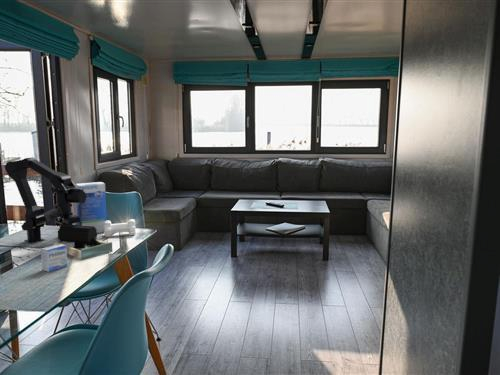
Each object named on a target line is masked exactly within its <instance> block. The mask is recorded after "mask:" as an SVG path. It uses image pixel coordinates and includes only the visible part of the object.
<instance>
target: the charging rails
mask: <svg viewBox="0 0 500 375" xmlns="http://www.w3.org/2000/svg"><path fill="white" fill-rule="evenodd" d="M96 241H98V243H100V245H97V246H94V244H93V246H90V247H85V248H84V249H75V248H73V247H72V246H69V245H66V244H63V243H62V242H58V241H56V240H55V241H53V243H52V246H54V245H58V244H63V245H66V249H67V255H70V256H72V257H76V258H78V259H81V260H85V259H89V258H93V257H96V256H99V255H100V256H101V255H103V254H107V253H108V254H109V253H111V252H113V242H112V241H109V242H104V241H101V240H98V239H96Z"/></svg>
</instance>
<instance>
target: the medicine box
mask: <svg viewBox="0 0 500 375" xmlns="http://www.w3.org/2000/svg"><path fill="white" fill-rule="evenodd" d="M40 259H41V260H40V261H41V270H42V271H45V272H48V273H50V272H54V271H57V270H60V269H63V268H67V267H68V254H67V249H66V244H64V245H63V243H61V244H58V245H54V246H53V245H50V246H46V247H43V248H40Z"/></svg>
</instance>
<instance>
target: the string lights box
mask: <svg viewBox="0 0 500 375" xmlns="http://www.w3.org/2000/svg"><path fill="white" fill-rule="evenodd" d="M74 184H75V186H76V187H77V189H80V188H83V191H84V192H85V193H86V196H87V198H86V201H85V202H84V203H83V204H82V203H76V212H77V213H76V215H77V216H80V217H81V222H77V225H81V226H94V227H95V228H96V229H97V234H101V233H104V222H105V221H106V220H107V219H108V218H107V200H106V199H107V198H106V197H107V196H106V195H107V194H106V183H104V182H102V181H97V182H95V181H94V182H83V183H74Z"/></svg>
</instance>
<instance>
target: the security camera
mask: <svg viewBox="0 0 500 375" xmlns="http://www.w3.org/2000/svg"><path fill="white" fill-rule="evenodd" d="M97 237H98V233H97V229H96V228H95V227H94V226H81V225H78V224H72V225H63V226H60V225H59V228H58V230H57V239H58V240H59V241H60V243H74V244H73V247H72V248H75V249H78V250H82V249H86V247H89V246H90V247H93V244H94V246H97V245H100V243H98V241H96V240H97Z"/></svg>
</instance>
